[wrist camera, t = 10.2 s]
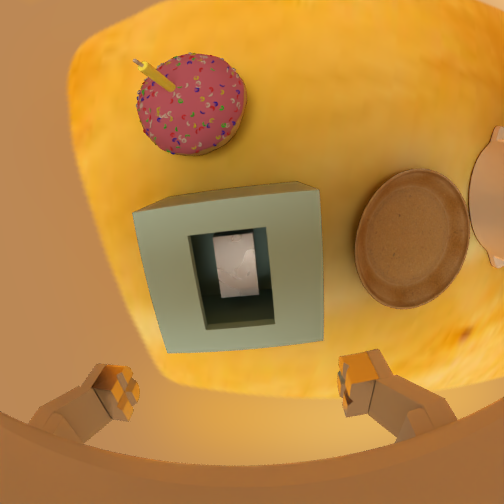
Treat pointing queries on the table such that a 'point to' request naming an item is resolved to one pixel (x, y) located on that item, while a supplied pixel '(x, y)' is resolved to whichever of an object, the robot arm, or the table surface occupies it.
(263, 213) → the coin box
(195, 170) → the table surface
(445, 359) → the table surface
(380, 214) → the plant saucer
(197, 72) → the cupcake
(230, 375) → the table surface
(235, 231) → the block
